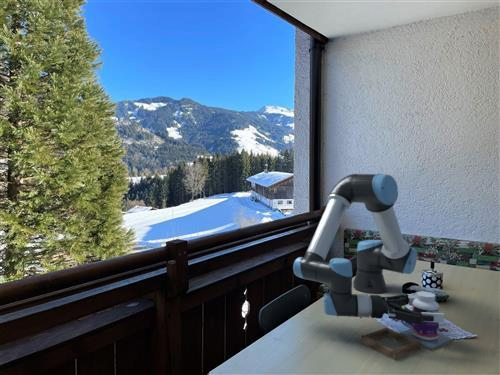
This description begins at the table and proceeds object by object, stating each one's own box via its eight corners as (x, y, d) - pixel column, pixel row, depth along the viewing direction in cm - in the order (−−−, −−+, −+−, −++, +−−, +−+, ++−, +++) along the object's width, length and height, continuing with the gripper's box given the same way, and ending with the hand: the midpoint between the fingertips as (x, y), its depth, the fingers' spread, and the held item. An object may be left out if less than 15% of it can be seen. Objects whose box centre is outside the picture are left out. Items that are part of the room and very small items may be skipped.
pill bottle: (407, 331, 123) (407, 290, 122) (429, 330, 124) (430, 289, 123) (420, 342, 115) (421, 298, 114) (443, 341, 116) (444, 297, 115)
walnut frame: (360, 342, 117) (360, 336, 117) (386, 332, 124) (386, 327, 123) (394, 360, 106) (394, 353, 106) (421, 348, 112) (421, 342, 112)
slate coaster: (397, 335, 121) (397, 333, 121) (419, 327, 128) (419, 325, 128) (431, 350, 111) (431, 348, 111) (452, 341, 117) (452, 339, 117)
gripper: (363, 303, 134) (423, 306, 131) (376, 333, 109) (450, 338, 106) (363, 284, 134) (423, 286, 131) (377, 309, 109) (451, 313, 106)
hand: (436, 309), depth 118 cm, fingers open, 13 cm apart
